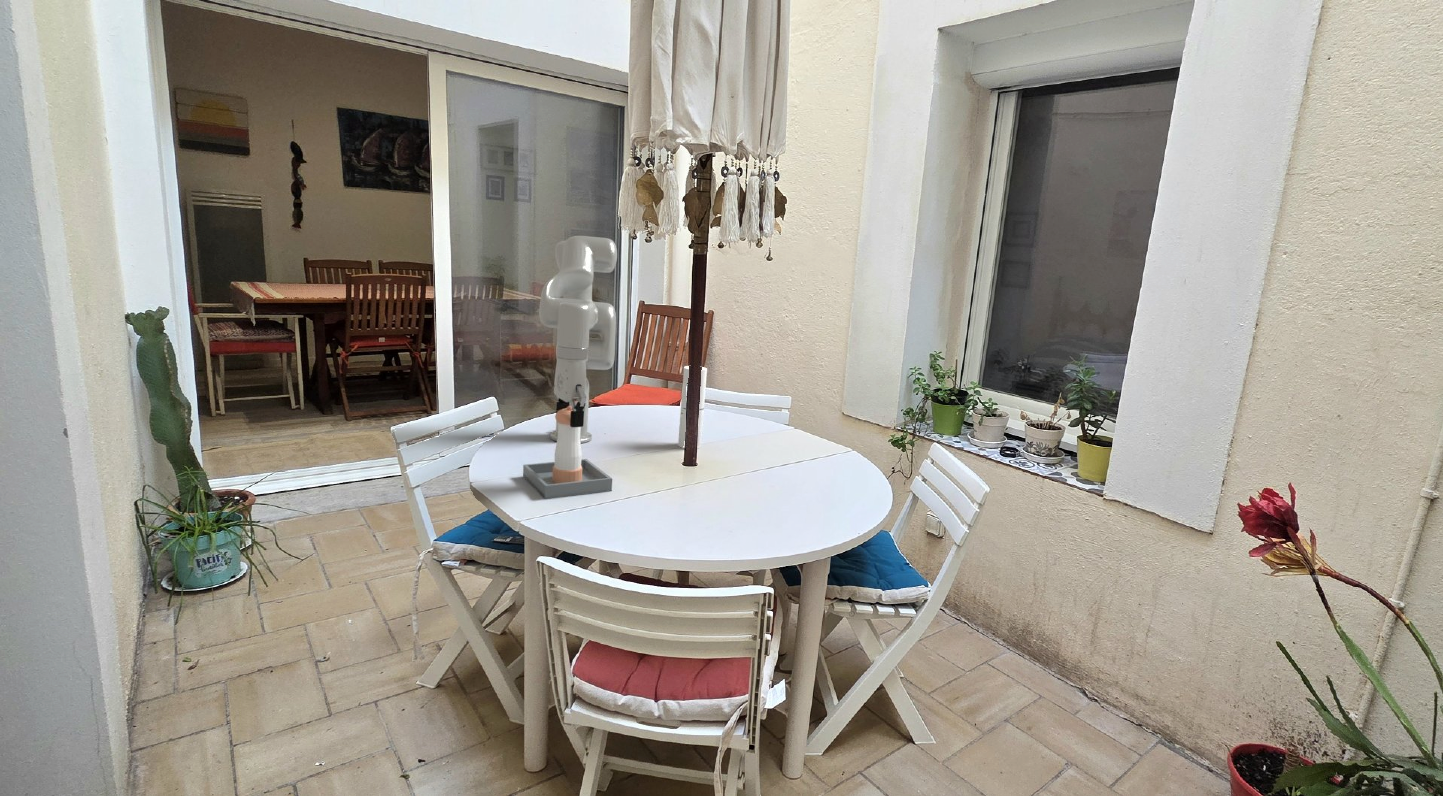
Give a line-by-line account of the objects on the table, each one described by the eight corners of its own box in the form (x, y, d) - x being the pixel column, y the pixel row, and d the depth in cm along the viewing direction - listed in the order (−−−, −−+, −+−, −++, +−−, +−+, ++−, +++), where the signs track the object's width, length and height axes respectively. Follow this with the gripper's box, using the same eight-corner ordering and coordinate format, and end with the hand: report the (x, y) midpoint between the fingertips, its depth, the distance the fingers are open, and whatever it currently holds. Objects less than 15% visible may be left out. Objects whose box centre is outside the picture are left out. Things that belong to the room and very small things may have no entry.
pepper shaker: (577, 474, 181) (580, 402, 178) (585, 483, 175) (588, 409, 171) (549, 476, 178) (552, 403, 174) (555, 485, 172) (558, 410, 168)
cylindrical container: (690, 450, 215) (697, 370, 210) (673, 445, 219) (679, 367, 214) (705, 447, 220) (711, 369, 215) (687, 441, 225) (694, 365, 220)
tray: (523, 476, 179) (523, 464, 178) (585, 470, 188) (586, 458, 187) (545, 498, 165) (545, 485, 164) (611, 490, 174) (612, 478, 174)
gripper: (545, 348, 175) (543, 414, 178) (570, 359, 161) (567, 431, 164) (574, 348, 179) (571, 413, 182) (600, 359, 165) (597, 429, 168)
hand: (569, 421), depth 173 cm, fingers open, 9 cm apart
